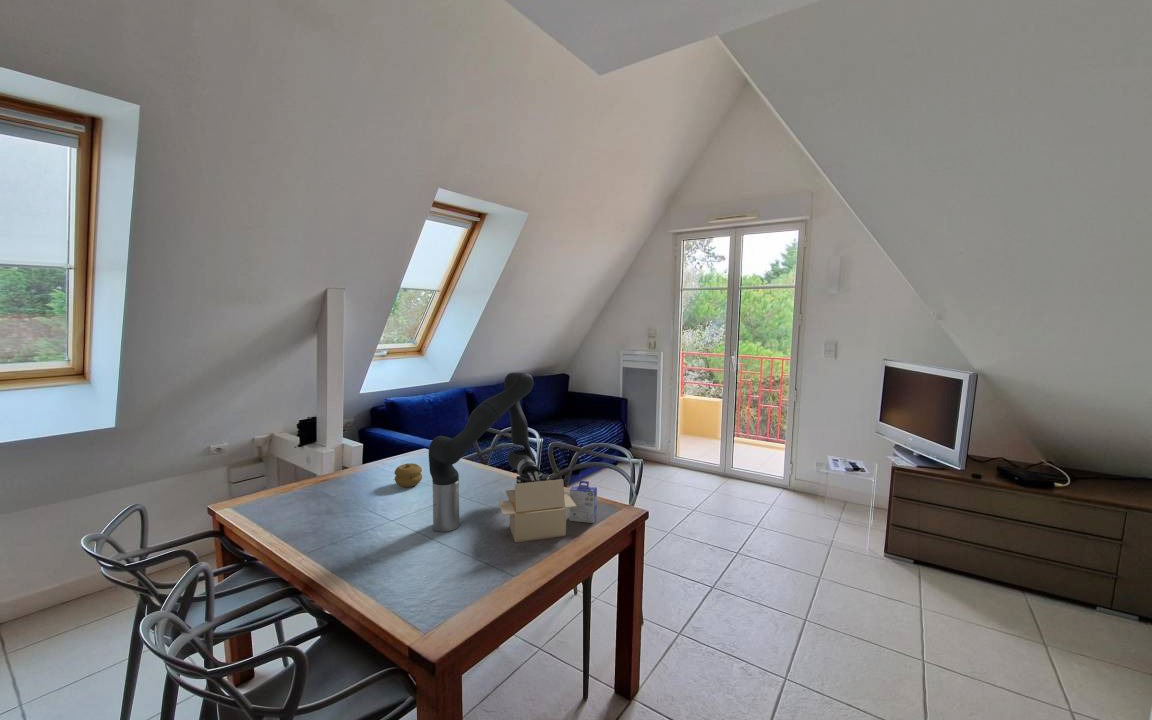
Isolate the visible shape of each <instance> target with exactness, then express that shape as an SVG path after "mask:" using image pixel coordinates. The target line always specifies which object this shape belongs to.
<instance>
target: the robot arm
mask: <svg viewBox="0 0 1152 720" xmlns="http://www.w3.org/2000/svg"><path fill="white" fill-rule="evenodd" d="M503 383H504V385H503V386H504V390H503V391H502V392H499V393H497V394H495V395H493V396H490V397H489V398H487V399H485V400H483V401H482V402H481V403H480V404H479V405H477V407H475V408H474V409H473V410H472V412H471V413H470V415H469V417H468V419H467V423H466V426H465V427H464V428H463V429H462V430H461V431H460V432H459V433H458V434H456V435H455V436H454V437H448V436H444V435H437V436H436V437H434V438H433V439H432V441H431V442H430V443H429V448H428V464H429V465H428V466H429V474H430V476H431V480H432V481H431V482H432V519H433V521H432V523H433V524H432V525H433V532H444V533H445V532H452V531H455V530H456V529H458V528H459V527H460V480H459V479H460V476H459V475H460V474H459V472H458V470H457V469H456V468H455V467H454V465H455V464H456V463H458V462H459V461H460V460H461V459H462V458H463V457H464V456H465V454H467V452H468V451H469V450H470V448H471V447H472V446H473V445H474V444H475V443H476V441H477V440H479V439H480V438H481V437H482V436H483V435H484V434H485V432H487V431H488V429H490V428H491V427H492V426H494V425H495V424H496V423H497V422H498V420H500V419H501V417H503V416H504V415H505V413H507V412H508V413H509V417H510V432H511V433H510V436H511V443H512V444H513V445H516V446H523V448H522V449H513V450H510V451H509V452H508V454H507V463H508V464H509V466H510V467H511V468H512V469H514V470H516V471H517V474H518V476H516V478H515V479H516V481H515V482H516V483H515V484H519V483H529V482H539V481H550V474H549V473H545V474H543V472H541V471H540V468H539V467H538V465H537V464H536V462H534V454H533V452H532V450H531V449H532V448H531V445H530V442H529V425H528V421H527V418H526V416H525V413H524V411H523V409H522V405H521V403H520V401H521V400H522V399H523V398H525V397H526V396H527V395H528V394H530V393H531V391H532V389H533V388H534V378H533V376H532V375H531V374H530V373H526V372H509V373H508V374H507V375H506V376H505V378H504V382H503Z"/></svg>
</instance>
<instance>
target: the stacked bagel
mask: <svg viewBox="0 0 1152 720" xmlns="http://www.w3.org/2000/svg"><path fill="white" fill-rule="evenodd" d="M422 471H423V469H422V467H421V466H420V465H419V464H418V463H417V464H416V463H413V462H412V463H408V462H407V463H404V464H400V465H398V467H396V469H395V470H394V481H395V483H396V484H397V485H398V486H399V487H402V488H412V487H414V486H417V485H418V484H419V483H420V482H422V481H421V480H422V479H423V474H422Z"/></svg>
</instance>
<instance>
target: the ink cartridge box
mask: <svg viewBox="0 0 1152 720" xmlns="http://www.w3.org/2000/svg"><path fill="white" fill-rule="evenodd" d="M589 483H590V482H589V481H585V480H579V484H578V485H572V486H571V488H570V490H569V496H570V498H571V499H572V500H573V502H574V503H575V504H576V506H577V507H571V508H569V517H568V520H569V521H570V522H579V523H580V522H582V523H590V524H595V521H596V520H597V519H598V517H597V516H598V515H597V514H598V512H597V509H598V505H597V504H598V494H597V493H598V488H597V487H595V486H590V484H589ZM585 484H586V485H585Z"/></svg>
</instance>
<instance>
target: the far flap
mask: <svg viewBox="0 0 1152 720" xmlns="http://www.w3.org/2000/svg"><path fill="white" fill-rule="evenodd" d="M564 485H565V484H564V479H563V478H562V479H552V480H551V479H549V481H539V482H529V483H519V484H517V483H514V490H515V502H516V512H521V511H530V510H539V509H547V508H556V507H564V506H565V500H564V495H565V486H564Z"/></svg>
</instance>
